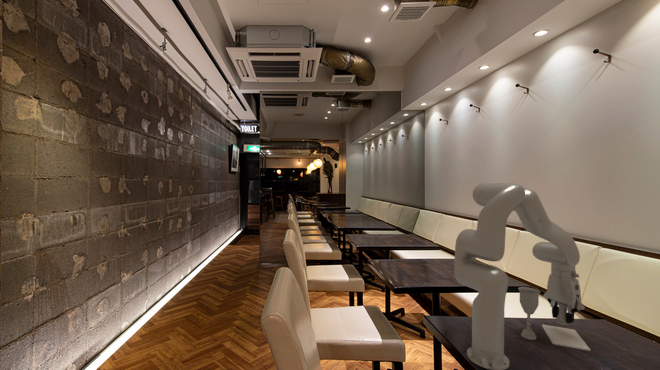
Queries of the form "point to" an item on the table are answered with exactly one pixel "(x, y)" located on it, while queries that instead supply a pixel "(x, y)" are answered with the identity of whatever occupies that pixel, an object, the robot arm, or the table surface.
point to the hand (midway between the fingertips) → (562, 319)
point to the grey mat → (565, 337)
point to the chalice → (529, 308)
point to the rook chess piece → (562, 314)
